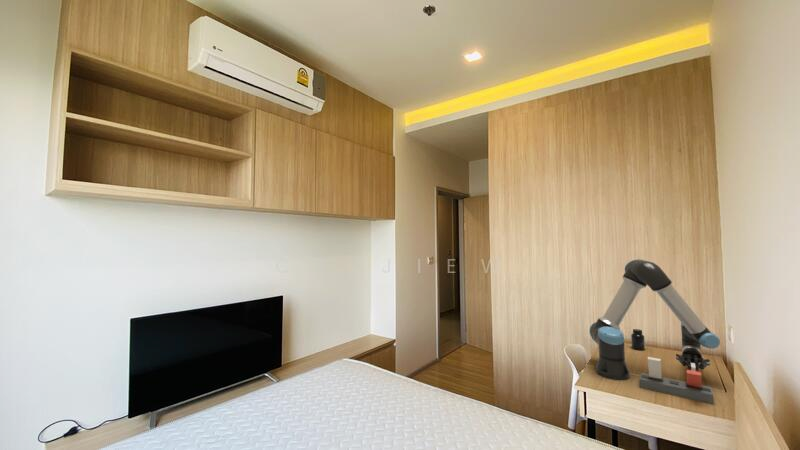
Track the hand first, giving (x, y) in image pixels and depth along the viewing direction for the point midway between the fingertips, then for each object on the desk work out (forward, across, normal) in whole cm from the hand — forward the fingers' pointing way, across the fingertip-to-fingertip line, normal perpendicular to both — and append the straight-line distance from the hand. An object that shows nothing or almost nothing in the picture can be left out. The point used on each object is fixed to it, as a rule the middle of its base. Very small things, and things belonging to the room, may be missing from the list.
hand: (693, 370), depth 150 cm
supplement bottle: (-55, +25, -11) cm, 61 cm away
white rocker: (+2, +14, -6) cm, 16 cm away
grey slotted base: (+2, +7, -11) cm, 13 cm away
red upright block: (+1, 0, -6) cm, 7 cm away
